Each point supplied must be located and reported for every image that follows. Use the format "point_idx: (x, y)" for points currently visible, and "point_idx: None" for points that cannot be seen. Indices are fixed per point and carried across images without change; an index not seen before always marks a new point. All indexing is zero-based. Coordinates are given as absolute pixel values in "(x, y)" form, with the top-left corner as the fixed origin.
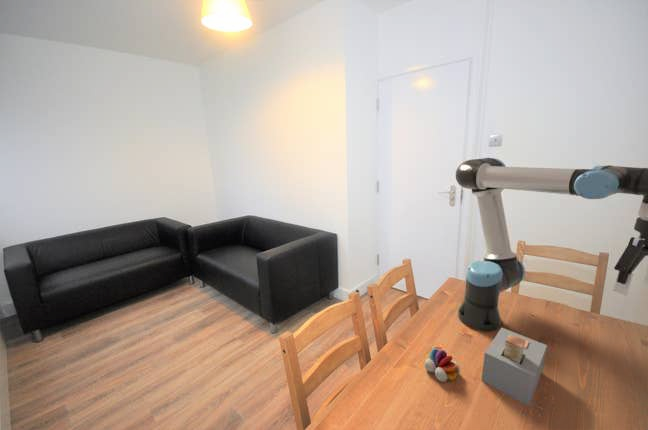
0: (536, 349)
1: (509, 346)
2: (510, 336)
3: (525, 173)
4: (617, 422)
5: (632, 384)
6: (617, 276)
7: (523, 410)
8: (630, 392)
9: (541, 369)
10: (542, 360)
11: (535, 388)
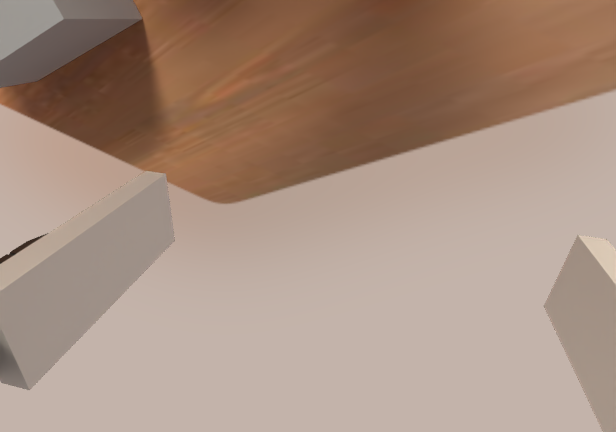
0: (13, 18)
1: None
2: None
3: None
4: (180, 183)
5: (334, 154)
6: (36, 241)
7: None
8: (297, 163)
9: (103, 31)
10: (45, 44)
11: (70, 58)
